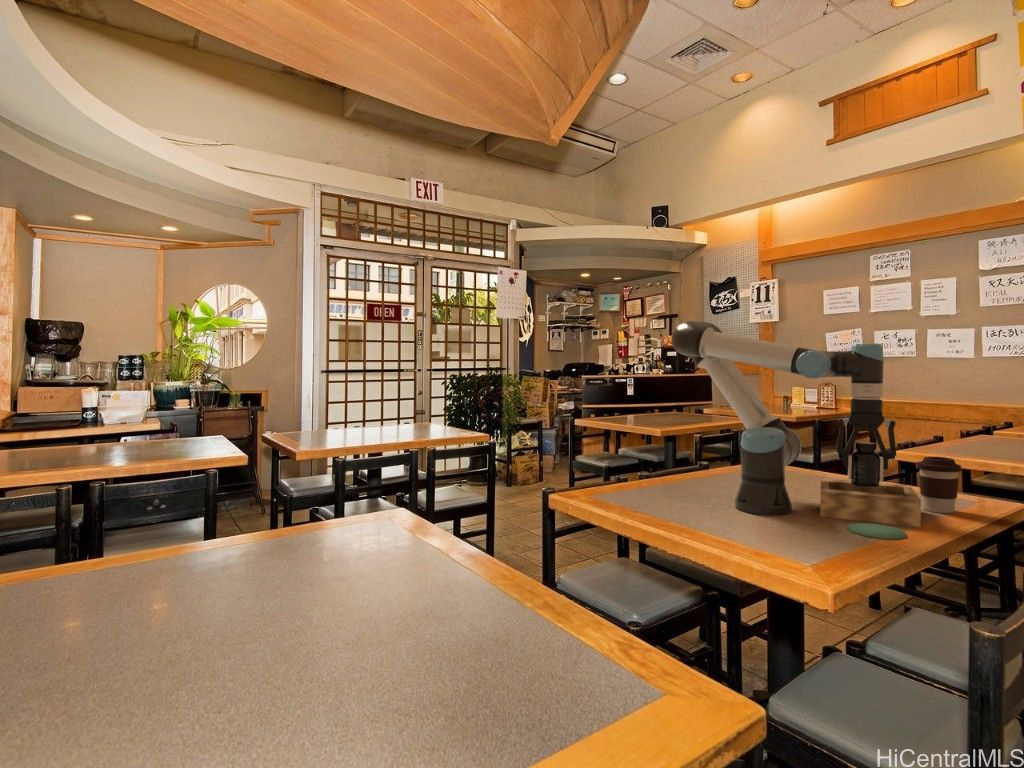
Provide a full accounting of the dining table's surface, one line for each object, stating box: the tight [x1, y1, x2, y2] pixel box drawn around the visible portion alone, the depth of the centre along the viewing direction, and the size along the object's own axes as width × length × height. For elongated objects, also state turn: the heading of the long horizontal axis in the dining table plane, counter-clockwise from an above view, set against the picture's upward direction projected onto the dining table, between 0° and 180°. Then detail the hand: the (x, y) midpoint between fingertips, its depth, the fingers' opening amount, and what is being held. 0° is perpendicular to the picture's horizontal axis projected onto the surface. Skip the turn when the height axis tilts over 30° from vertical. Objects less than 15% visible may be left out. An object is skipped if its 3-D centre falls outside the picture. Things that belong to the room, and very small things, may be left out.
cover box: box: [820, 478, 922, 528], centre depth 154 cm, size 22×19×7 cm
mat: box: [847, 522, 907, 541], centre depth 137 cm, size 12×12×1 cm
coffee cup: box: [916, 456, 962, 514], centre depth 156 cm, size 10×10×15 cm
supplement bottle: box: [850, 441, 881, 487], centre depth 154 cm, size 7×7×12 cm
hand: (865, 479), depth 154 cm, fingers closed on supplement bottle, 7 cm apart
